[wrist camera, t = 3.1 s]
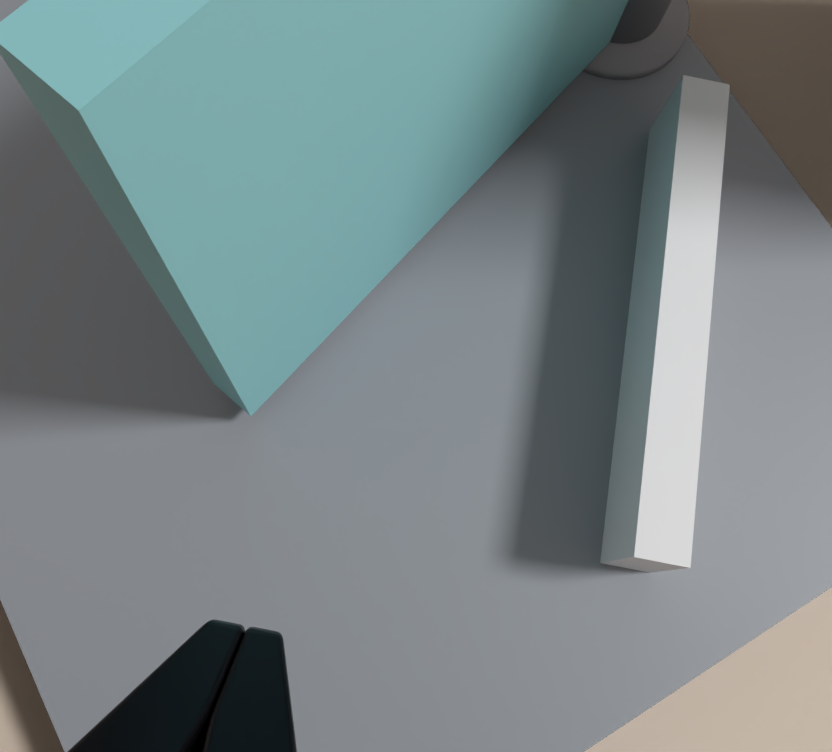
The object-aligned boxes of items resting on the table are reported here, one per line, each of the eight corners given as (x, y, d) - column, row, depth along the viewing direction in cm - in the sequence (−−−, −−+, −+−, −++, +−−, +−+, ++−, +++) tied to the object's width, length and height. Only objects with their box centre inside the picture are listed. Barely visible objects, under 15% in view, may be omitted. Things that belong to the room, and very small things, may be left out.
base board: (190, 992, 14) (147, 1092, 11) (-242, -16, 19) (-349, -127, 16) (988, 466, 18) (1109, 440, 15) (452, -259, 23) (466, -383, 20)
